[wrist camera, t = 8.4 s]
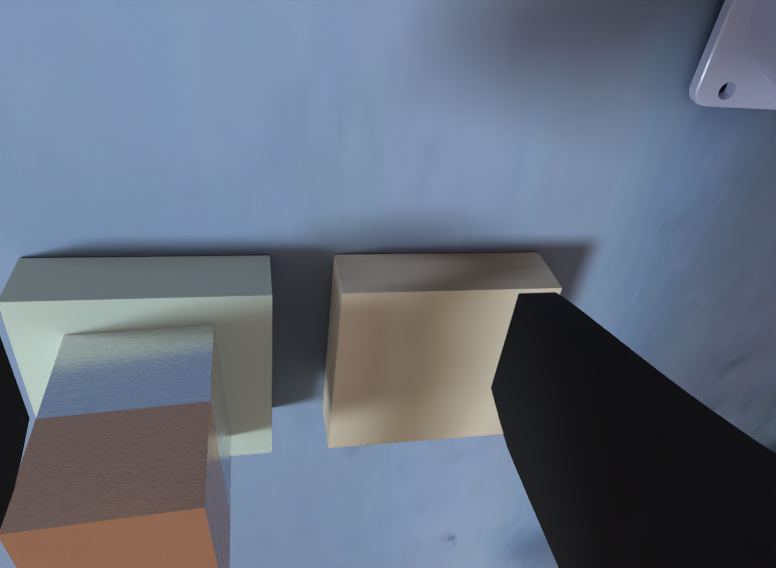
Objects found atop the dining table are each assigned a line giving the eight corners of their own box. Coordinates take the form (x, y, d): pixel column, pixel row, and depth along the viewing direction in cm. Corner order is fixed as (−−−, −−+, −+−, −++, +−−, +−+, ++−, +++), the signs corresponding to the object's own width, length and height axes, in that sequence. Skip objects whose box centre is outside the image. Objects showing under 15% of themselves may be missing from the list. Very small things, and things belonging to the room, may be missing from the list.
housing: (231, 435, 21) (228, 618, 16) (104, 450, 20) (63, 645, 15) (214, 322, 18) (204, 507, 13) (64, 334, 17) (-3, 535, 12)
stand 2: (538, 252, 21) (562, 288, 19) (493, 394, 25) (510, 433, 24) (334, 254, 19) (342, 293, 18) (322, 405, 24) (328, 448, 22)
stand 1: (269, 255, 19) (272, 295, 17) (269, 409, 23) (271, 452, 22) (18, 258, 17) (-3, 302, 16) (66, 422, 22) (53, 469, 20)
